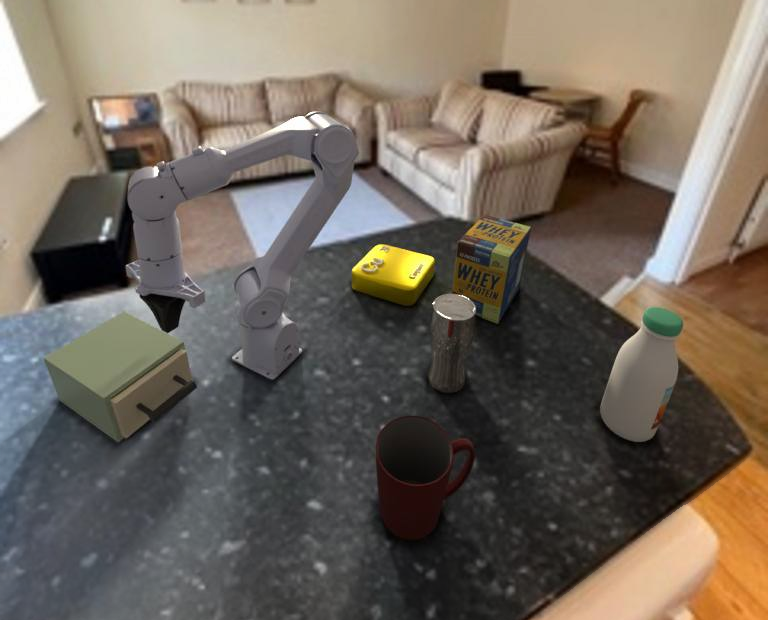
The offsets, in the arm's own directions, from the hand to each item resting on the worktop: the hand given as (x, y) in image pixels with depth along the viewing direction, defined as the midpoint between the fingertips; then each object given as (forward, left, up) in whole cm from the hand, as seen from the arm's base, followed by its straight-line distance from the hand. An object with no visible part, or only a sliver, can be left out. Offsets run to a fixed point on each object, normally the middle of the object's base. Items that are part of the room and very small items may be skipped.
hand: (170, 328), depth 69 cm
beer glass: (-38, -22, -11) cm, 45 cm away
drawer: (+1, +6, -10) cm, 11 cm away
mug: (-43, -1, -11) cm, 44 cm away
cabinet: (+5, +6, -10) cm, 13 cm away
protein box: (-37, -48, -11) cm, 62 cm away
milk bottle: (-65, -28, -11) cm, 71 cm away
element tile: (-17, -43, -11) cm, 47 cm away
